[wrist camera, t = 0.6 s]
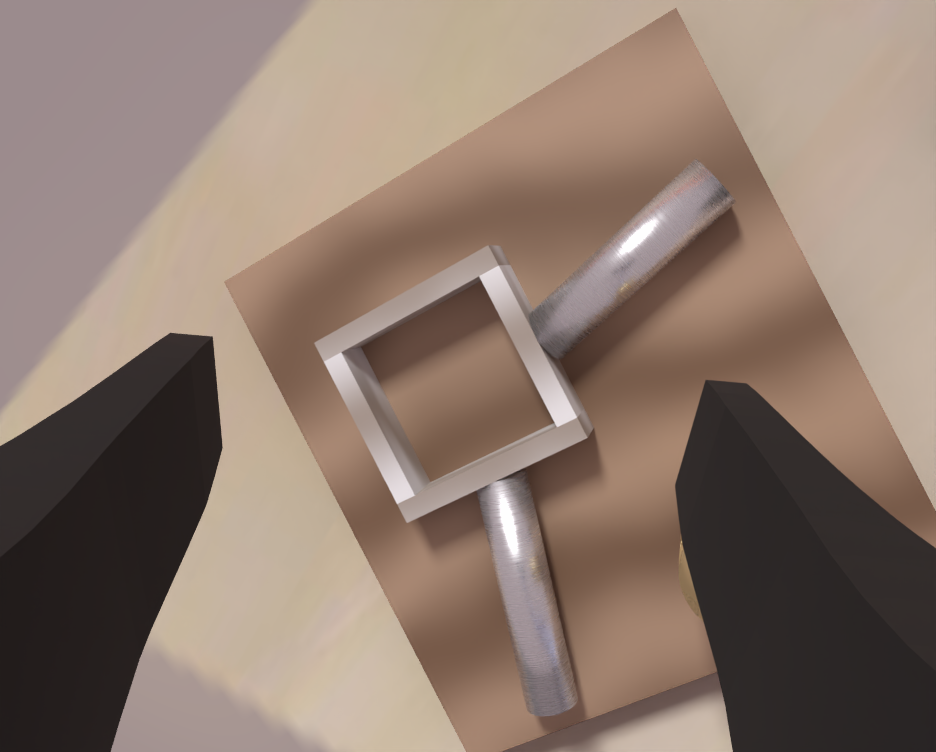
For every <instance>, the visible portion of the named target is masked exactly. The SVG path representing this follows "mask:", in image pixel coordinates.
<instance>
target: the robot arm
mask: <svg viewBox="0 0 936 752" xmlns="http://www.w3.org/2000/svg"><path fill="white" fill-rule="evenodd" d="M221 451H222V436H221V425H220V414H219V403H218V391H217V380H216V369H215V358H214V346H213V337H210V336H199V335H188V334H176V333H170V334H168V335H167V336H165V337H164V338H162V339H160V340H159V341H158V342H156V343H155V344H153V345H152V346H150V347H149V348H148V349H146V350H145V351H143V352H142V353H141V354H139V355H138V356H137V357H135V358H134V359H132V360H131V361H130V362H128V363H127V364H126V365H124V366H123V367H121V368H120V369H119V370H117V371H116V372H114V373H113V374H112V375H110V376H109V377H107V378H106V379H104V380H103V381H102V382H100V383H99V384H97V385H96V386H94V387H93V388H92V389H90V390H89V391H87V392H86V393H84V394H83V395H82V396H80V397H79V398H77V399H76V400H74V401H73V402H71V403H70V404H68V405H67V406H65V407H63V408H62V409H60V410H59V411H57V412H55V413H54V414H52V415H51V416H49V417H47V418H46V419H44V420H43V421H41V422H39V423H38V424H36V425H35V426H33V427H32V428H30V429H28V430H27V431H25V432H24V433H22V434H20V435H19V436H17V437H15V438H14V439H12V440H10V441H9V442H7V443H5V444H3V445H2V446H0V752H111V748H112V745H113V742H114V738H115V735H116V732H117V728H118V725H119V721H120V718H121V715H122V712H123V709H124V706H125V703H126V699H127V696H128V693H129V690H130V687H131V684H132V681H133V678H134V674H135V671H136V668H137V665H138V662H139V659H140V657H141V654H142V651H143V649H144V646H145V644H146V641H147V639H148V636H149V634H150V631H151V629H152V627H153V624H154V622H155V620H156V618H157V615H158V613H159V611H160V609H161V606H162V604H163V602H164V600H165V597H166V595H167V593H168V591H169V589H170V586H171V584H172V582H173V580H174V577H175V575H176V573H177V571H178V568H179V566H180V564H181V562H182V560H183V557H184V555H185V553H186V551H187V548H188V546H189V544H190V541H191V539H192V537H193V535H194V532H195V530H196V528H197V526H198V523H199V521H200V519H201V516H202V514H203V512H204V509H205V507H206V504H207V501H208V497H209V494H210V491H211V487H212V484H213V481H214V477H215V473H216V470H217V466H218V462H219V459H220V455H221ZM675 491H676V500H677V508H678V517H679V524H680V531H681V538H682V545H683V549H684V553H685V556H686V560H687V564H688V568H689V571H690V575H691V579H692V582H693V586H694V590H695V593H696V597H697V600H698V604H699V608H700V611H701V615H702V618H703V622H704V625H705V629H706V632H707V636H708V640H709V643H710V647H711V650H712V654H713V657H714V661H715V665H716V668H717V672H718V675H719V680H720V684H721V688H722V693H723V697H724V701H725V706H726V712H727V719H728V725H729V731H730V737H731V743H732V749H733V752H936V548H935V547H934V546H932V545H931V544H930V543H928V542H927V541H925V540H924V539H923V538H921V537H920V536H918V535H917V534H916V533H914V532H913V531H912V530H910V529H909V528H908V527H906V526H905V525H904V524H902V523H901V522H900V521H899V520H897V519H896V518H895V517H893V516H892V515H891V514H890V513H889V512H887V511H886V510H885V509H884V508H883V507H881V506H880V505H879V504H878V503H877V502H875V501H874V500H873V499H872V498H871V497H869V496H868V495H867V494H866V493H865V492H863V491H862V490H861V489H860V488H859V487H857V486H856V485H855V484H854V483H853V482H852V481H851V480H850V479H848V478H847V477H846V476H845V475H844V474H843V473H842V472H841V471H839V470H838V469H837V468H836V467H835V466H834V465H833V464H832V463H831V462H830V461H829V460H827V459H826V458H825V457H824V456H823V455H822V454H821V453H820V452H819V451H818V450H817V449H816V448H815V447H814V446H813V445H812V444H811V443H809V442H808V441H807V440H806V439H805V438H804V437H803V436H802V435H801V434H800V433H799V432H798V431H797V430H796V429H795V428H794V427H793V426H792V425H791V424H790V423H789V422H788V421H787V420H786V419H785V418H784V417H783V416H782V415H781V414H780V413H779V412H777V411H776V410H775V409H774V408H773V407H772V406H771V405H770V404H769V403H768V402H767V401H766V400H765V399H764V398H763V397H762V396H761V395H760V394H759V393H757V392H756V391H755V390H754V389H753V388H752V387H751V386H749V385H748V384H747V383H738V382H727V381H715V380H705V383H704V387H703V390H702V394H701V397H700V401H699V404H698V408H697V411H696V414H695V418H694V421H693V425H692V428H691V432H690V435H689V438H688V442H687V445H686V449H685V452H684V456H683V459H682V463H681V466H680V469H679V473H678V476H677V480H676V483H675Z"/></svg>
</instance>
